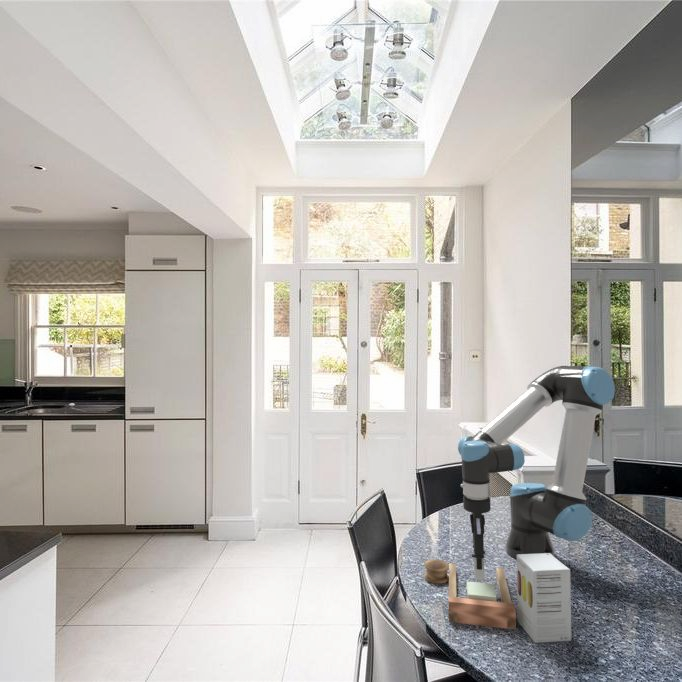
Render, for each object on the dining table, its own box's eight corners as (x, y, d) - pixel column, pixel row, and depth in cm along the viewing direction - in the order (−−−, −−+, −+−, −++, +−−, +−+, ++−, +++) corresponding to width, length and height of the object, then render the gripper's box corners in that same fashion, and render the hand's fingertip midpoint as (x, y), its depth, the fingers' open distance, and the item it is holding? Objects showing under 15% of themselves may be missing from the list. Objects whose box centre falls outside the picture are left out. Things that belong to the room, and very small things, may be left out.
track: (503, 576, 142) (503, 559, 142) (515, 629, 115) (515, 608, 115) (449, 571, 146) (448, 555, 146) (448, 621, 118) (448, 601, 119)
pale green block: (494, 606, 126) (493, 583, 126) (496, 621, 119) (496, 597, 119) (467, 603, 127) (466, 581, 127) (468, 618, 120) (467, 594, 120)
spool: (448, 573, 144) (448, 560, 144) (449, 585, 137) (448, 571, 137) (424, 571, 146) (424, 558, 146) (424, 582, 139) (424, 568, 139)
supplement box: (516, 620, 119) (515, 553, 119) (551, 618, 119) (549, 551, 120) (535, 644, 109) (533, 570, 110) (572, 641, 110) (571, 568, 110)
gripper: (462, 488, 142) (465, 567, 142) (463, 502, 129) (466, 588, 129) (488, 489, 140) (491, 569, 140) (492, 503, 128) (495, 591, 127)
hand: (479, 578), depth 135 cm, fingers closed
